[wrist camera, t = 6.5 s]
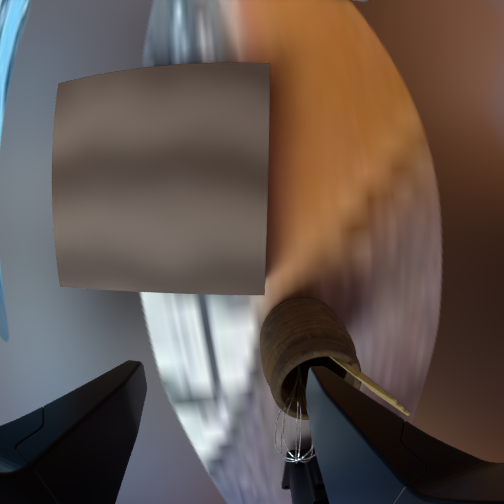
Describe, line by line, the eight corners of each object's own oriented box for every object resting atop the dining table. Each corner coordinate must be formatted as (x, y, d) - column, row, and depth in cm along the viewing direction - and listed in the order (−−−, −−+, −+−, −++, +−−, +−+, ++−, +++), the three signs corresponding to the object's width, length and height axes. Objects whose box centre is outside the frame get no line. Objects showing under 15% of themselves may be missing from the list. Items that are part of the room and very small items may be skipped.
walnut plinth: (262, 282, 22) (264, 295, 19) (76, 276, 21) (60, 286, 19) (267, 76, 19) (270, 63, 16) (75, 91, 18) (58, 83, 16)
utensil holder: (241, 333, 22) (240, 461, 11) (306, 274, 22) (367, 372, 10) (295, 378, 23) (324, 501, 12) (356, 326, 23) (430, 432, 11)
